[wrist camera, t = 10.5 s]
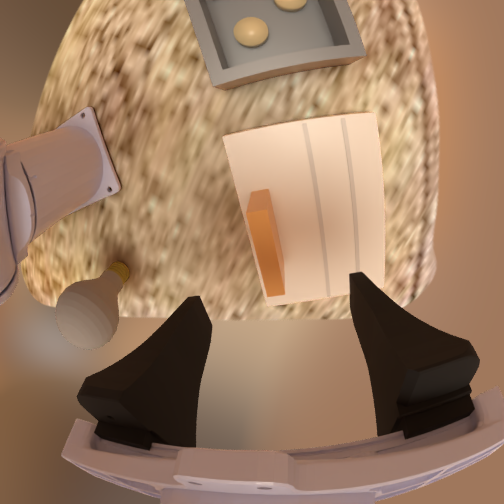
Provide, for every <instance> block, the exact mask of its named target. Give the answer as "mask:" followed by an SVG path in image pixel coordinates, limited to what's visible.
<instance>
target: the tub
mask: <svg viewBox="0 0 504 504" xmlns="http://www.w3.org/2000/svg"><path fill="white" fill-rule="evenodd" d="M184 1H185V4H186V7H187V10H188V13H189V16H190V19H191V22H192V25H193V28H194V31H195V33H196V36H197V39H198V42H199V45H200V48H201V51H202V54H203V57H204V61H205V64H206V67H207V70H208V73H209V76H210V79H211V82H212V85H213V87H216V88H219V89H222V90H228V89H232V88H235V87H238V86H242V85H245V84H249V83H253V82H257V81H260V80H264V79H269V78H273V77H277V76H282V75H286V74H291V73H296V72H301V71H307V70H313V69H319V68H325V67H332V66H340V65H348V64H351V63H353V62H355V61H357V60H359V59H361V58H363V57H365V56H367V55H366V52H365V49H364V46H363V43H362V40H361V37H360V34H359V31H358V28H357V25H356V23H355V20H354V17H353V15H352V12H351V10H350V7H349V5H348V2H347V0H184Z"/></svg>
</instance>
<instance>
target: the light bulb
mask: <svg viewBox="0 0 504 504" xmlns="http://www.w3.org/2000/svg"><path fill="white" fill-rule="evenodd" d="M129 275H130V273H129V269H128V268H127V266H126V265H125V264H123V263H122V262H114V263H113V264H111V266H110V267H109V268H108V269H107V270H106V271H104V272H103V273H102V275H101V276H100V277H99V278H97V279H92V280H84V281H79V282H75V283H73V284H72V285H70V286H69V287H67V288H66V289H65V290H64V291H63V293H62V294H61V295H60V297H59V299H58V302H57V305H56V312H55V316H56V322H57V326H58V328H59V330H60V332H61V334H62V335H63V337H64V338H65V339H66V340H67V341H68V342H70V343H71V344H72V345H74V346H76V347H79V348H81V349H86V350H92V349H97V348H100V347H101V346H104V345H105V344H106V343H107V342H109V341H110V340H111V338H112V337H113V335H114V334H115V332H116V330H117V326H118V322H119V310H118V297H117V295H118V293H119V291H120V290H121V289H122V287H123V285H124V283H125V282H126V280H127V279H128V278H129Z"/></svg>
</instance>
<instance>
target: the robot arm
mask: <svg viewBox="0 0 504 504" xmlns="http://www.w3.org/2000/svg"><path fill="white" fill-rule="evenodd" d="M84 113H85V117H83V114H84ZM109 187H111V188H112V191H111V190H110V189H109ZM120 189H121V185H120V183H119V180H118V177H117V175H116V172H115V170H114V167H113V165H112V162H111V159H110V157H109V154H108V151H107V148H106V146H105V143H104V140H103V137H102V134H101V131H100V128H99V125H98V122H97V119H96V116H95V113H94V110H93V108H92V107H86V108H84V109H83V110H81V111H80V112H78V113H77V114H76V115H74V116H73V117H71V118H70V119H68V120H67V121H66V122H64V123H63V124H61V125H60V126H59V127H57V128H56V129H55V130H52V131H49V132H45V133H42V134H38V135H35V136H32V137H29V138H26V139H23V140H20V141H17V142H14V143H11V144H8V145H6V142H5V140H3V139H1V138H0V306H1V305H2V304H3V303H4V302H5V301H6V300H7V299H8V298H9V297H10V296H11V295H12V293H13V292H14V290H15V288H16V286H17V283H18V280H19V269H18V264H19V263H20V262H21V261H22V260H23V259H25V258H26V257H27V256H28V253H27V248H28V245H29V243H31V242H32V241H33V240H34V239H36V238H37V237H38V236H39V235H41V234H42V233H43V232H45V231H46V230H47V229H48V228H50V227H51V226H52V225H54V224H55V223H56V222H58V221H59V220H61V219H62V218H63V217H65V216H67V215H69V214H71V213H73V212H75V211H77V210H79V209H81V208H83V207H86V206H88V205H90V204H92V203H94V202H97V201H99V200H101V199H103V198H106V197H108V196H110V195H113V194H115V193H117V192H118V191H120ZM349 285H350V309H351V314H352V318H353V323H354V326H355V330H356V332H357V335H358V338H359V341H360V344H361V347H362V350H363V353H364V356H365V359H366V362H367V366H368V370H369V375H370V381H371V386H372V392H373V399H374V406H375V414H376V423H377V435H378V437H375V438H370V439H365V440H361V441H355V442H350V443H344V444H338V445H331V446H324V447H316V448H307V449H296V450H279V451H269V450H267V451H266V450H224V449H207V448H196V418H197V407H198V397H199V389H200V383H201V378H202V374H203V371H204V366H205V363H206V359H207V355H208V351H209V347H210V343H211V334H212V324H211V321H210V319H209V317H208V314H207V312H206V310H205V307H204V305H203V303H202V300H201V298H200V296H193V297H188V298H187V299H186V300H185V301H184V302H183V303H182V304H181V305H180V306H179V307H178V308H177V309H176V310H175V312H174V313H173V314H172V315H171V316H170V317H169V318H168V319H167V320H166V321H165V322H164V324H162V325H161V327H159V328H158V329H157V330H156V331H155V332H154V333H153V334H152V336H150V337H149V338H148V339H147V340H146V341H145V342H144V343H142V344H141V345H140V346H139V347H138V348H136V349H135V350H134V351H132V352H131V353H130V354H128V355H127V356H125V357H124V358H123V359H121V360H119V361H118V362H116V363H114V364H113V365H111V366H109V367H107V368H106V369H104V370H102V371H100V372H98V373H95V374H93V375H91V376H88V377H86V379H85V381H84V383H83V385H82V387H81V389H80V391H79V393H78V395H77V399H78V401H79V403H80V404H81V405H82V406H83V407H84V408H85V409H86V410H87V411H88V412H89V413H90V414H91V415H92V416H94V417H95V418H96V419H97V420H98V424H97V425H95V424H93V423H91V422H88V421H84V420H81V419H76V421H75V423H74V425H73V428H72V430H71V433H70V435H69V437H68V439H67V442H66V444H65V447H64V449H63V452H62V454H61V455H62V457H63V458H65V459H66V460H68V461H70V462H71V463H73V464H74V465H76V466H78V467H79V468H81V469H83V470H85V471H86V472H88V473H90V474H92V475H94V476H96V477H99V478H101V479H104V480H106V481H109V482H111V483H114V484H117V485H119V486H122V487H125V488H128V489H131V490H134V491H137V492H140V493H143V494H146V495H150V496H153V497H156V498H160V499H161V501H160V504H375V501H379V500H383V499H386V498H390V497H393V496H396V495H399V494H403V493H406V492H409V491H412V490H415V489H417V488H420V487H423V486H425V485H428V484H430V483H433V482H435V481H438V480H440V479H442V478H445V477H447V476H449V475H451V474H454V473H455V472H458V471H460V470H462V469H464V468H466V467H468V466H470V465H472V464H474V463H476V462H478V461H480V460H482V459H484V458H485V457H487V456H489V455H490V454H491V453H493V452H494V451H495V450H497V449H498V448H499V447H500V446H502V445H503V444H504V398H503V396H502V393H501V391H500V389H499V387H498V386H496V387H494V388H492V389H490V390H488V391H486V392H484V393H481V394H480V395H478V396H476V397H475V398H474V399H473V400H472V399H471V397H470V393H471V391H472V390H471V387H470V385H469V383H470V381H471V380H472V378H473V376H474V375H475V373H476V371H477V369H478V367H479V363H480V359H479V358H478V356H477V354H476V351H475V350H474V348H473V346H472V345H471V343H470V342H469V341H468V340H465V339H462V338H459V337H456V336H453V335H450V334H448V333H445V332H443V331H440V330H438V329H436V328H434V327H432V326H430V325H428V324H427V323H425V322H423V321H421V320H419V319H418V318H416V317H414V316H413V315H411V314H410V313H408V312H407V311H405V310H404V309H403V308H401V307H400V306H399V305H398V304H396V303H395V302H394V301H393V300H392V299H390V298H389V297H388V296H387V295H386V294H385V293H384V292H383V291H381V290H380V289H379V288H378V287H377V286H376V285H375V284H374V283H373V282H372V281H371V280H370V279H369V278H368V277H367V276H366V275H365V274H364V273H363V272H362V271H361V272H356V273H350V274H349Z"/></svg>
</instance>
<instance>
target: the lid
mask: <svg viewBox="0 0 504 504" xmlns="http://www.w3.org/2000/svg"><path fill="white" fill-rule="evenodd" d="M222 138H223V142H224V146H225V149H226V153H227V157H228V161H229V165H230V168H231V172H232V176H233V180H234V184H235V187H236V191H237V195H238V199H239V203H240V206H241V210H242V214H243V218H244V222H245V225H246V229H247V233H248V237H249V241H250V244H251V248H252V252H253V256H254V260H255V263H256V267H257V271H258V275H259V279H260V282H261V286H262V290H263V294H264V298H265V302H266V305H267V307H270V306H277V305H284V304H291V303H298V302H305V301H311V300H318V299H324V298H330V297H336V296H342V295H347V294H350V285H349V274H350V273H356V272H361V271H362V272H363V273H364V274H365V275H366V276H367V277H368V278H369V279H370V280H371V281H372V282H373V283H374V284H375V285H376V286H377V287H378V288H379V289H380V288H384V273H385V201H384V183H383V170H382V159H381V149H380V141H379V133H378V126H377V119H376V113H375V112H356V113H346V114H337V115H328V116H320V117H313V118H306V119H300V120H294V121H288V122H282V123H276V124H271V125H266V126H261V127H256V128H252V129H247V130H243V131H238V132H234V133H230V134H226V135H224V136H222Z"/></svg>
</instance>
